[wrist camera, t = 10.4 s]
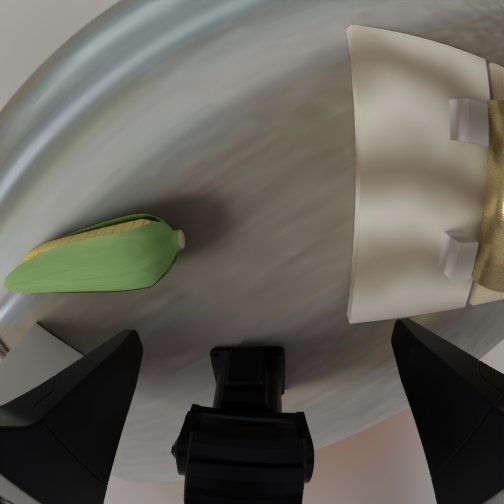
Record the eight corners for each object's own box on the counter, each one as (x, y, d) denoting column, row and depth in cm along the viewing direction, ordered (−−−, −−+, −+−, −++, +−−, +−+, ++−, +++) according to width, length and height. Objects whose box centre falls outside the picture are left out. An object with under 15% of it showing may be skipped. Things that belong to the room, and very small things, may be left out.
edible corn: (187, 296, 18) (160, 239, 15) (10, 308, 20) (-16, 275, 18) (199, 245, 22) (180, 193, 19) (32, 273, 24) (10, 240, 22)
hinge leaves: (529, 286, 22) (546, 300, 18) (346, 315, 23) (357, 342, 20) (550, 97, 13) (572, 99, 10) (346, 30, 14) (362, 12, 11)
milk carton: (35, 355, 28) (-34, 459, 10) (35, 320, 25) (-55, 437, 8) (78, 384, 29) (20, 501, 12) (84, 354, 26) (7, 491, 9)
